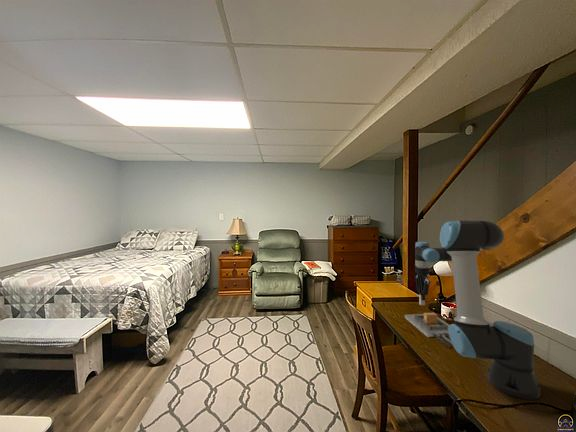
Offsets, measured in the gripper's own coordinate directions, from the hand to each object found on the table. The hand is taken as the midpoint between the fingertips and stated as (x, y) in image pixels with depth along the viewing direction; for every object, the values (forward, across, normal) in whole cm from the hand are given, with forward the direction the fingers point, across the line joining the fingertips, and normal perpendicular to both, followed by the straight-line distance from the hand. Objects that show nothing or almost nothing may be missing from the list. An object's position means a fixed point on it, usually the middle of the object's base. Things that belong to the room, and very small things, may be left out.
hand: (422, 304), depth 153 cm
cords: (+9, -26, +1) cm, 27 cm away
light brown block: (+7, -8, 0) cm, 11 cm away
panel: (+9, -8, 0) cm, 13 cm away
